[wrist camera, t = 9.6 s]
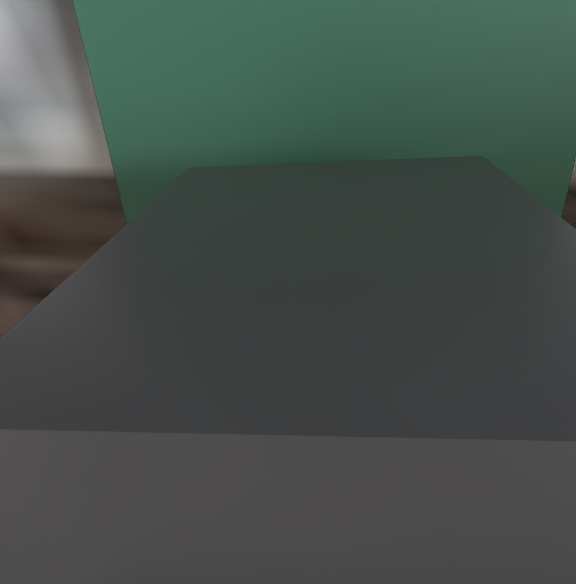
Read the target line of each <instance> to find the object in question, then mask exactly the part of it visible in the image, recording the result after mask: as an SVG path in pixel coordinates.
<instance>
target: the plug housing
mask: <svg viewBox="0 0 576 584" xmlns="http://www.w3.org/2000/svg"><path fill="white" fill-rule="evenodd" d="M0 584H576V229H575V228H574V227H572V226H571V225H570V224H569V223H567V222H566V221H565V220H564V219H562V218H561V217H560V216H559V215H557V214H556V213H555V212H553V211H552V210H551V209H550V208H548V207H547V206H546V205H545V204H543V203H542V202H541V201H539V200H538V199H537V198H536V197H534V196H533V195H532V194H531V193H529V192H528V191H527V190H526V189H524V188H523V187H522V186H520V185H519V184H518V183H517V182H515V181H514V180H513V179H512V178H510V177H509V176H508V175H507V174H505V173H504V172H503V171H501V170H500V169H499V168H498V167H496V166H495V165H494V164H493V163H491V162H490V161H489V160H487V159H486V158H485V157H484V156H464V157H439V158H414V159H390V160H365V161H341V162H316V163H292V164H267V165H243V166H218V167H193V168H189V169H188V170H186V171H185V172H184V173H183V174H182V175H181V176H180V177H179V178H178V179H176V180H175V181H174V182H173V183H172V184H171V185H170V186H169V187H168V188H166V189H165V190H164V191H163V192H162V193H161V194H160V195H159V196H158V197H156V198H155V199H154V200H153V201H152V202H151V203H150V204H149V205H148V206H146V207H145V208H144V209H143V210H142V211H141V212H140V213H139V214H138V215H136V216H135V217H134V218H133V219H132V220H131V221H130V222H129V223H128V224H126V225H125V226H124V227H123V228H122V229H121V230H120V231H119V232H118V233H116V234H115V235H114V236H113V237H112V238H111V239H110V240H109V241H108V242H107V243H105V244H104V245H103V246H102V247H101V248H100V249H99V250H98V251H97V252H95V253H94V254H93V255H92V256H91V257H90V258H89V259H88V260H87V261H85V262H84V263H83V264H82V265H81V266H80V267H79V268H78V269H77V270H75V271H74V272H73V273H72V274H71V275H70V276H69V277H68V278H67V279H65V280H64V281H63V282H62V283H61V284H60V285H59V286H58V287H57V288H55V289H54V290H53V291H52V292H51V293H50V294H49V295H48V296H47V297H45V298H44V299H43V300H42V301H41V302H40V303H39V304H38V305H37V306H35V307H34V308H33V309H32V310H31V311H30V312H29V313H28V314H27V315H25V316H24V317H23V318H22V319H21V320H20V321H19V322H18V323H17V324H15V325H14V326H13V327H12V328H11V329H10V330H9V331H8V332H7V333H5V334H4V335H3V336H2V337H1V338H0Z"/></svg>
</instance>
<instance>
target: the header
mask: <svg viewBox="0 0 576 584" xmlns="http://www.w3.org/2000/svg"><path fill="white" fill-rule="evenodd" d="M73 3H74V8H75V12H76V16H77V20H78V24H79V28H80V32H81V37H82V41H83V45H84V49H85V53H86V57H87V61H88V66H89V70H90V74H91V78H92V82H93V86H94V91H95V95H96V99H97V103H98V107H99V111H100V115H101V120H102V124H103V128H104V132H105V136H106V140H107V144H108V149H109V153H110V157H111V161H112V165H113V169H114V173H115V178H116V182H117V186H118V190H119V194H120V198H121V202H122V207H123V211H124V215H125V219H126V223H127V224H128V223H129V222H130V221H131V220H132V219H133V218H134V217H135V216H136V215H138V214H139V213H140V212H141V211H142V210H143V209H144V208H145V207H146V206H148V205H149V204H150V203H151V202H152V201H153V200H154V199H155V198H156V197H158V196H159V195H160V194H161V193H162V192H163V191H164V190H165V189H166V188H168V187H169V186H170V185H171V184H172V183H173V182H174V181H175V180H176V179H178V178H179V177H180V176H181V175H182V174H183V173H184V172H185V171H186V170H188V169H189V168H193V167H218V166H243V165H267V164H292V163H316V162H341V161H365V160H390V159H414V158H439V157H464V156H484V157H485V158H486V159H487V160H489V161H490V162H491V163H493V164H494V165H495V166H496V167H498V168H499V169H500V170H501V171H503V172H504V173H505V174H507V175H508V176H509V177H510V178H512V179H513V180H514V181H515V182H517V183H518V184H519V185H520V186H522V187H523V188H524V189H526V190H527V191H528V192H529V193H531V194H532V195H533V196H534V197H536V198H537V199H538V200H539V201H541V202H542V203H543V204H545V205H546V206H547V207H548V208H550V209H551V210H552V211H553V212H555V213H556V214H557V215H559V216H560V217H561V218H562V214H563V209H564V205H565V201H566V197H567V192H568V188H569V184H570V180H571V175H572V171H573V167H574V163H575V158H576V0H73Z"/></svg>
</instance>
